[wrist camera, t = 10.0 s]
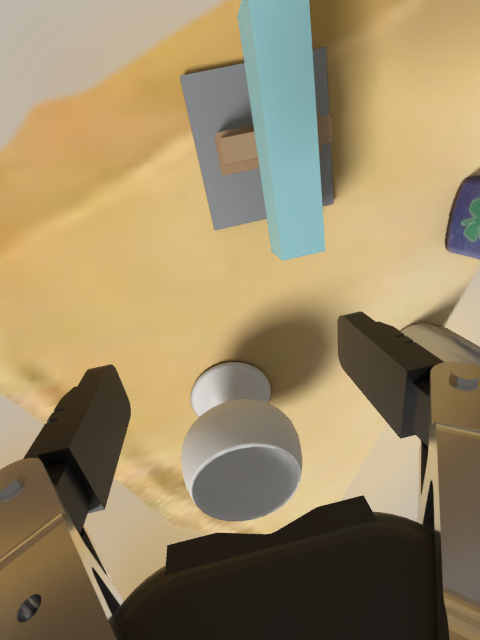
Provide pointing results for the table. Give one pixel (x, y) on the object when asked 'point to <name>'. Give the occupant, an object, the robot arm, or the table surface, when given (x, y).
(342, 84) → the table surface
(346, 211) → the table surface
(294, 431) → the chalice
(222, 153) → the fulcrum
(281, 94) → the batten
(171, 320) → the table surface
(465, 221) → the flask
